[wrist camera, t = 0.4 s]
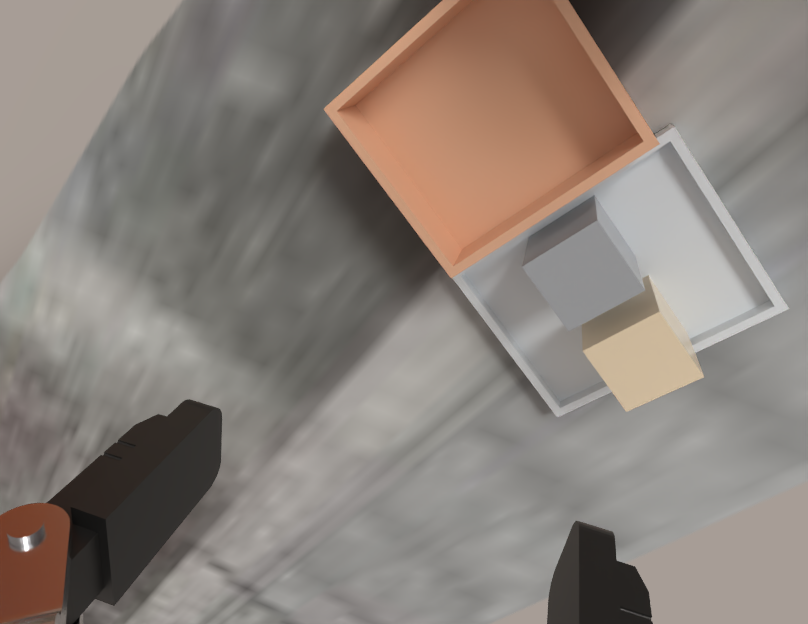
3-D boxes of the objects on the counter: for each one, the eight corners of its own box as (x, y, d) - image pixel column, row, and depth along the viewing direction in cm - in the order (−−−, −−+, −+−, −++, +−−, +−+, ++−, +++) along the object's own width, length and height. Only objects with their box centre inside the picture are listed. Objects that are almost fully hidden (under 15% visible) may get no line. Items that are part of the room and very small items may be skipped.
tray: (671, 123, 30) (674, 126, 29) (782, 300, 32) (789, 308, 31) (452, 266, 36) (448, 273, 35) (557, 407, 38) (557, 417, 37)
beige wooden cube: (648, 275, 33) (659, 311, 29) (687, 333, 34) (704, 376, 30) (581, 311, 35) (582, 351, 31) (620, 365, 36) (626, 411, 31)
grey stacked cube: (594, 195, 32) (597, 219, 28) (635, 256, 33) (645, 290, 29) (528, 237, 34) (521, 266, 30) (569, 294, 35) (568, 331, 30)
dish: (528, -60, 29) (522, -73, 25) (650, 131, 31) (659, 143, 27) (349, 101, 34) (323, 109, 30) (463, 254, 36) (451, 278, 32)
